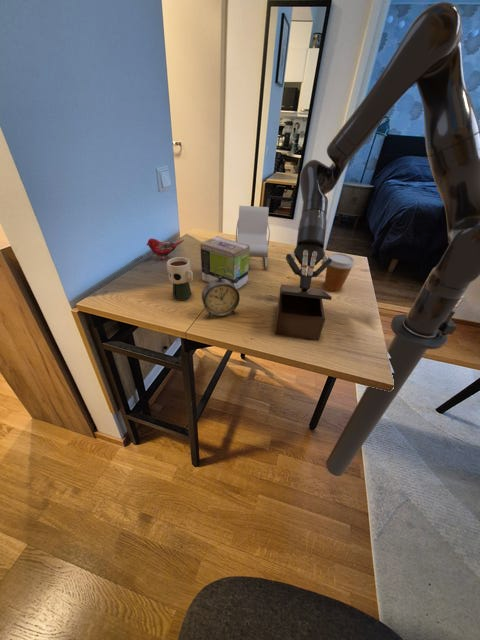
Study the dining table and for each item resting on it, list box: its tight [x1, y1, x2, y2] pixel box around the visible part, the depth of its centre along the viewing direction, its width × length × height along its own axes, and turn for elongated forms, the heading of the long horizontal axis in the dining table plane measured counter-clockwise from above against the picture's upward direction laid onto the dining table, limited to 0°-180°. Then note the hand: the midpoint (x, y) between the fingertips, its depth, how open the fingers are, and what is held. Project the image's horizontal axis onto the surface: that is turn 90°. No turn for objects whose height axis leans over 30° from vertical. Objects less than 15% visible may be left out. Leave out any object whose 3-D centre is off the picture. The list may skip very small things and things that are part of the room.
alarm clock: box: [201, 267, 241, 319], centre depth 77 cm, size 11×5×16 cm, turn 106°
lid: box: [280, 283, 332, 301], centre depth 74 cm, size 16×13×1 cm
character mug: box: [166, 256, 194, 301], centre depth 85 cm, size 11×7×13 cm, turn 57°
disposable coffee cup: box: [323, 252, 355, 293], centre depth 95 cm, size 10×10×12 cm
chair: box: [235, 205, 271, 270], centre depth 110 cm, size 13×25×20 cm, turn 178°
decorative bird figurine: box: [146, 237, 185, 261], centre depth 110 cm, size 3×18×10 cm, turn 132°
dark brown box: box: [274, 286, 326, 341], centre depth 78 cm, size 15×13×8 cm
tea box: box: [199, 235, 250, 290], centre depth 95 cm, size 15×10×15 cm
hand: (304, 290), depth 71 cm, fingers closed
